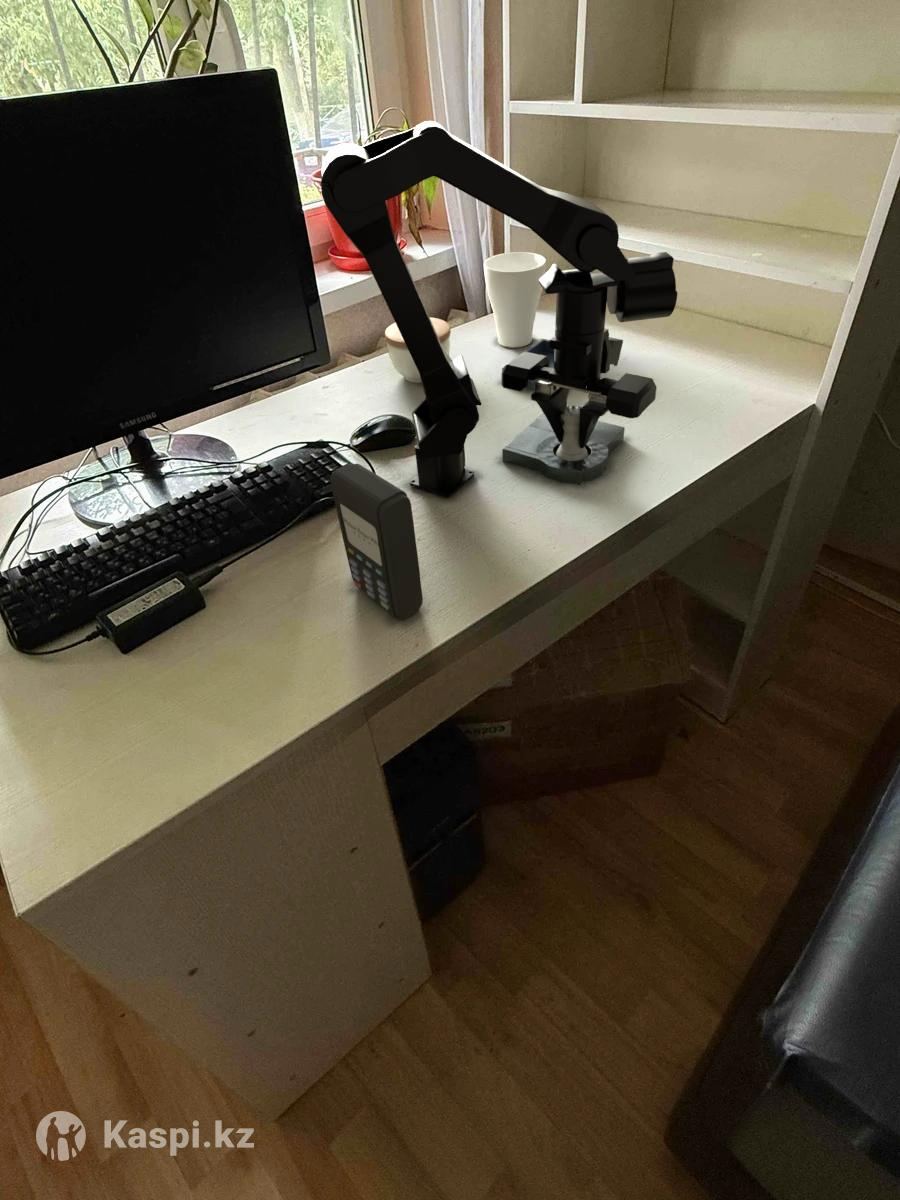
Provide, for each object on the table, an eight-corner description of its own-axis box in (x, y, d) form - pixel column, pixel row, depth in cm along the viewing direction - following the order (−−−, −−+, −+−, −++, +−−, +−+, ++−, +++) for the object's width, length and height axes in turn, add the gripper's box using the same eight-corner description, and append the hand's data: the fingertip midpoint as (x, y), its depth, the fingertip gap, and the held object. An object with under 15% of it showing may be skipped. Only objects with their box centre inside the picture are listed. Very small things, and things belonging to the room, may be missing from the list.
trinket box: (381, 386, 114) (373, 330, 107) (403, 359, 121) (396, 305, 115) (442, 391, 111) (437, 334, 105) (461, 363, 118) (457, 308, 112)
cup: (474, 342, 124) (470, 264, 115) (514, 325, 129) (513, 248, 120) (515, 358, 118) (515, 276, 109) (556, 339, 123) (559, 259, 114)
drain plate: (587, 490, 88) (588, 477, 86) (499, 464, 94) (499, 451, 92) (631, 442, 96) (633, 429, 94) (548, 420, 102) (548, 408, 100)
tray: (557, 396, 107) (558, 380, 105) (502, 383, 112) (501, 368, 110) (595, 364, 115) (596, 348, 113) (541, 353, 119) (542, 338, 118)
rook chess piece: (587, 473, 91) (591, 418, 85) (553, 471, 91) (555, 417, 86) (589, 455, 94) (593, 401, 88) (556, 454, 95) (558, 400, 89)
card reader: (347, 586, 77) (321, 472, 67) (376, 569, 79) (355, 456, 69) (397, 626, 72) (378, 509, 62) (427, 607, 74) (412, 491, 63)
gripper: (683, 314, 80) (663, 433, 91) (543, 292, 89) (540, 403, 99) (644, 350, 74) (628, 473, 85) (498, 322, 83) (500, 437, 93)
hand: (572, 444), depth 91 cm, fingers closed on rook chess piece, 3 cm apart
